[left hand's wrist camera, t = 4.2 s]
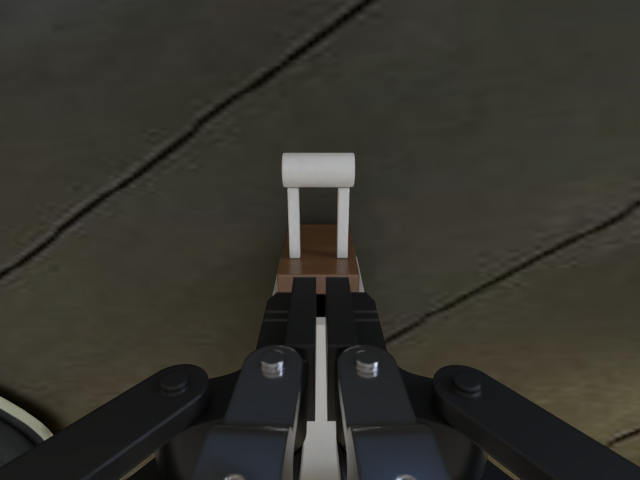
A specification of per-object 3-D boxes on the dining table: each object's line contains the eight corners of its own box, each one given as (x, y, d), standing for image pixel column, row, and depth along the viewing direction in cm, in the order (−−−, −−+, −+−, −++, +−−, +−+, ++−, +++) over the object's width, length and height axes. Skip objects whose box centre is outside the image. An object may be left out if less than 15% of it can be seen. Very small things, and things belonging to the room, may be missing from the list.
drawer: (285, 138, 26) (271, 161, 18) (352, 138, 26) (364, 161, 18) (293, 397, 34) (286, 485, 26) (344, 397, 34) (351, 485, 26)
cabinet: (282, 251, 30) (265, 325, 21) (355, 251, 30) (371, 325, 21) (288, 421, 36) (278, 535, 27) (349, 421, 36) (359, 535, 27)
